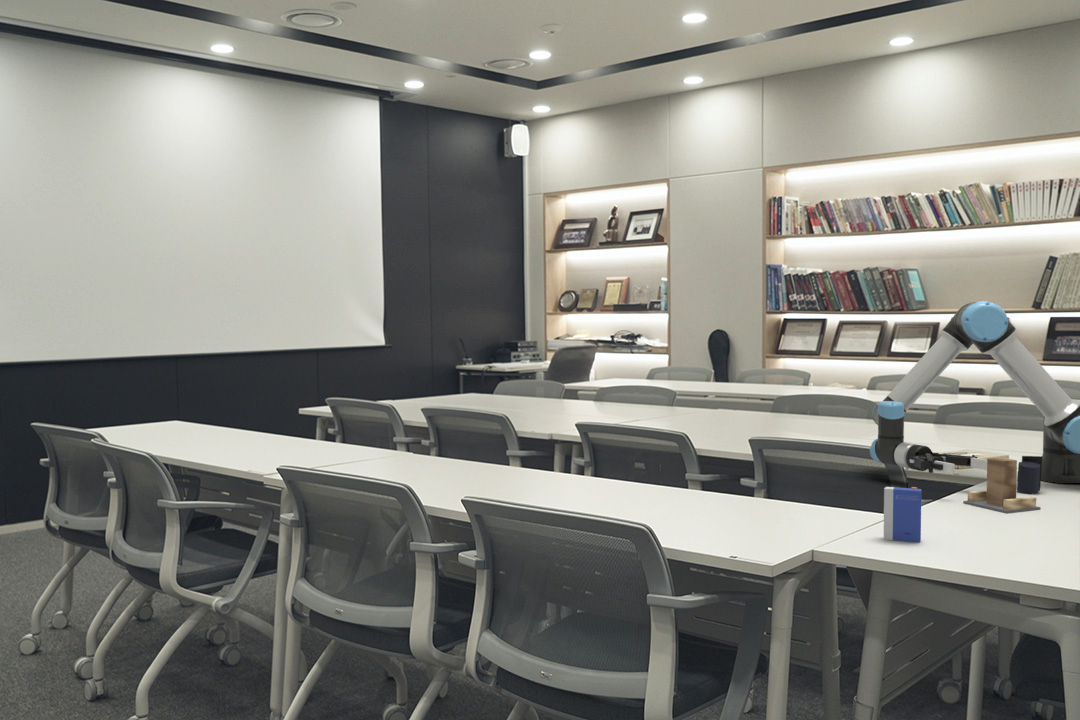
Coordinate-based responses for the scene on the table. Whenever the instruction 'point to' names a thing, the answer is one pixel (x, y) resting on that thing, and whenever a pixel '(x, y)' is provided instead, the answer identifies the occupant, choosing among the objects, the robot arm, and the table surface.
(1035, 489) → the speaker
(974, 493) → the end caps
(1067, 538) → the table surface
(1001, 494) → the brown wooden block
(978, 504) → the mat
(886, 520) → the walkman
